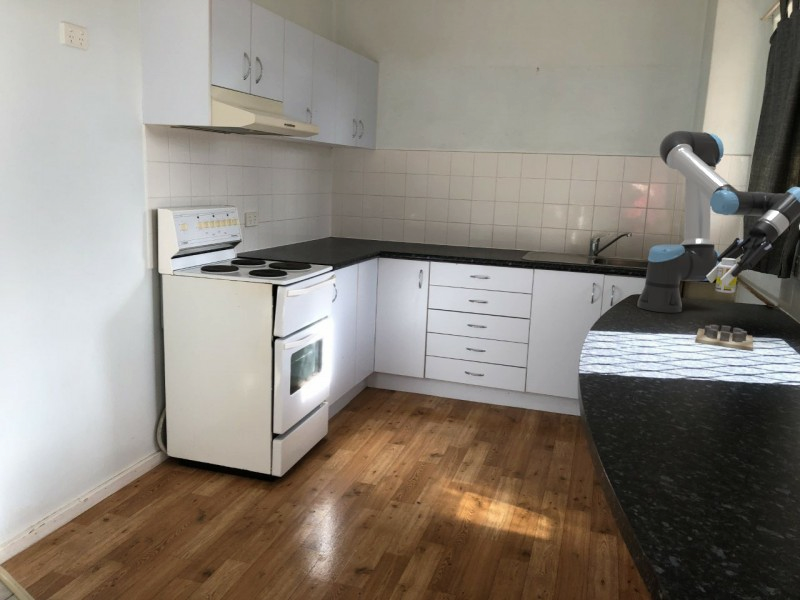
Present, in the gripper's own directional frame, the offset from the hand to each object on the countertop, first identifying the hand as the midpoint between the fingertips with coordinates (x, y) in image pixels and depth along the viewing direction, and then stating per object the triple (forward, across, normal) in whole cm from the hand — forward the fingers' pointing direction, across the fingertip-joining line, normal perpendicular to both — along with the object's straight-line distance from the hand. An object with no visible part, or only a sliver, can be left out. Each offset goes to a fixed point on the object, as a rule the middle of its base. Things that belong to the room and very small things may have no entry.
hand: (716, 280), depth 204 cm
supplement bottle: (0, 0, -5) cm, 5 cm away
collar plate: (+13, -8, -11) cm, 19 cm away
